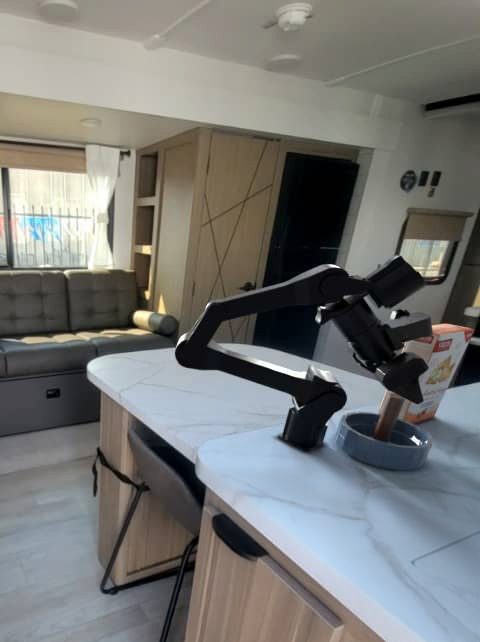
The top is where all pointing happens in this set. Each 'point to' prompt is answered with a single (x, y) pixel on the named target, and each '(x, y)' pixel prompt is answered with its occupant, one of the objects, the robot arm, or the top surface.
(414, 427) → the bowl
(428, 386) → the cracker box
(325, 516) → the top surface
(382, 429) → the brown flanged rod
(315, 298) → the robot arm
